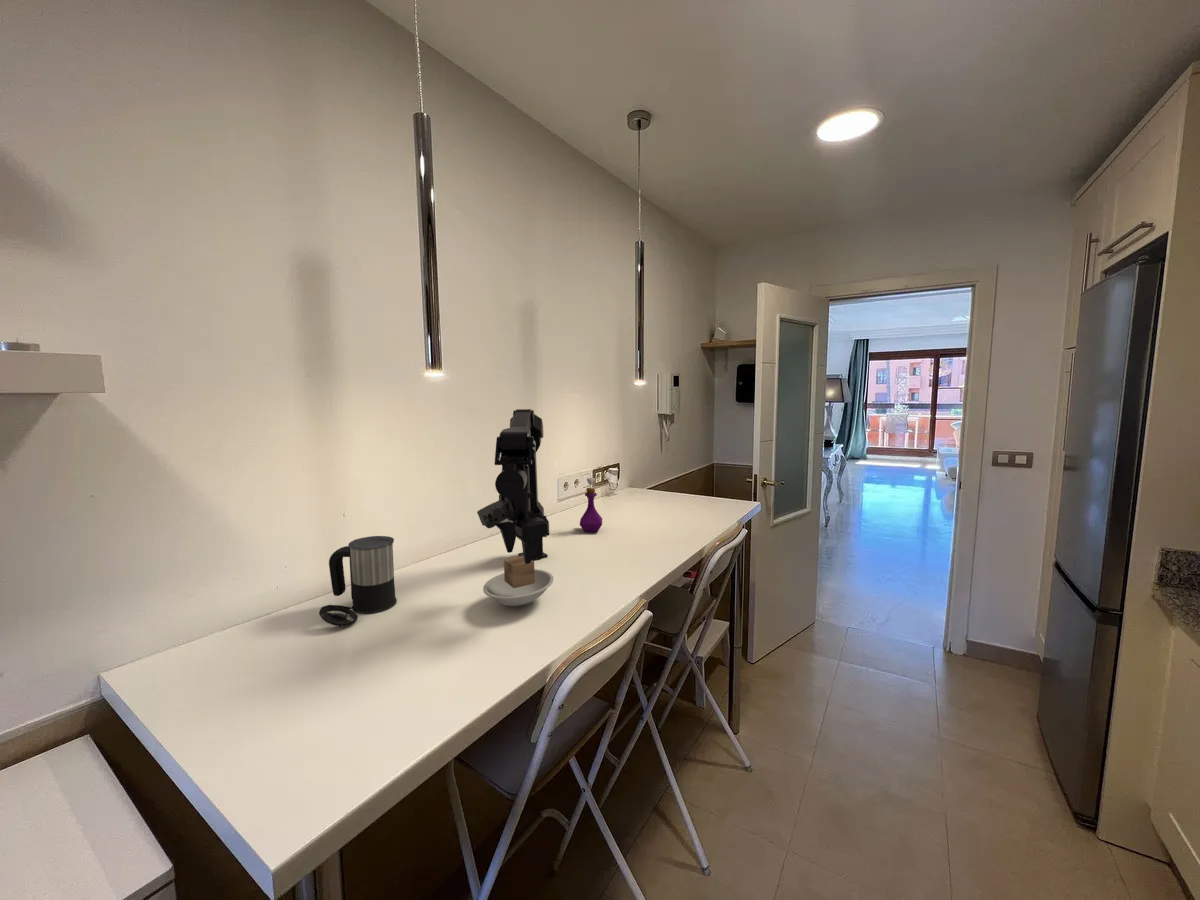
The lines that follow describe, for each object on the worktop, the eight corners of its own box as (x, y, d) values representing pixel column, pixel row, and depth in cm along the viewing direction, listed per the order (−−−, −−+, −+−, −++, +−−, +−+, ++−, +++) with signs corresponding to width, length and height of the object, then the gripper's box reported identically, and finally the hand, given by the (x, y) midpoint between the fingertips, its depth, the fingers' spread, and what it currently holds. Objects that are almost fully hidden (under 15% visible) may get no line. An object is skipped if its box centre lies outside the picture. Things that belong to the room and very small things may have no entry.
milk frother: (399, 594, 118) (395, 533, 117) (392, 624, 104) (388, 554, 102) (332, 602, 114) (327, 539, 113) (315, 635, 99) (309, 562, 98)
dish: (515, 584, 124) (515, 565, 124) (566, 594, 118) (566, 573, 117) (468, 613, 108) (467, 591, 108) (524, 626, 102) (523, 602, 102)
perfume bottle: (602, 534, 167) (601, 480, 164) (579, 534, 167) (578, 480, 165) (602, 527, 174) (602, 476, 172) (580, 527, 174) (580, 476, 172)
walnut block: (504, 581, 113) (503, 559, 113) (524, 576, 116) (524, 555, 115) (514, 588, 109) (513, 566, 109) (534, 583, 112) (534, 561, 111)
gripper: (465, 486, 113) (468, 553, 115) (499, 500, 98) (501, 578, 100) (511, 480, 119) (513, 544, 121) (549, 493, 104) (551, 566, 106)
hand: (518, 557), depth 112 cm, fingers open, 9 cm apart
